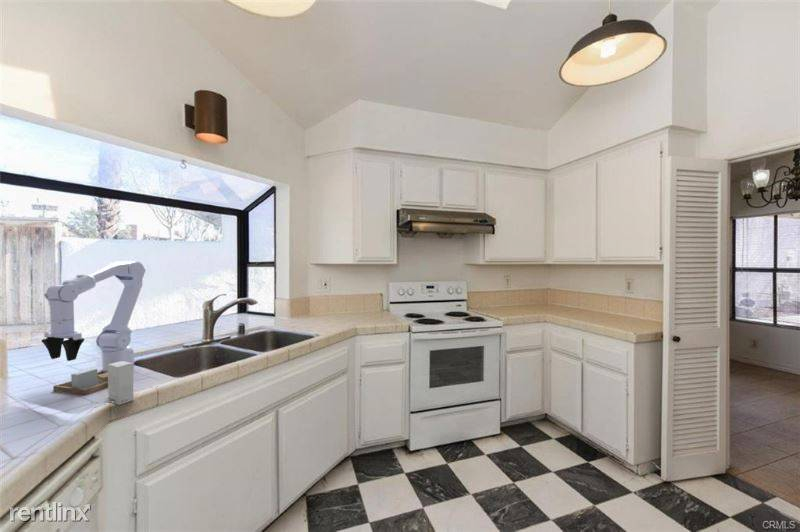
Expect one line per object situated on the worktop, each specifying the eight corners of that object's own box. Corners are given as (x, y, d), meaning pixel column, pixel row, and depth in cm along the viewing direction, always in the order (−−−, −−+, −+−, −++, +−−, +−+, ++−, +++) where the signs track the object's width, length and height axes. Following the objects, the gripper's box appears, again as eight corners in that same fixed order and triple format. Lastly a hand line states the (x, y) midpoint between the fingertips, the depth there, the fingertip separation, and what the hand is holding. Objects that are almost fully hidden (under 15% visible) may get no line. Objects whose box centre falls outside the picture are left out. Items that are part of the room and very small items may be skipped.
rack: (103, 378, 127) (103, 370, 126) (132, 382, 123) (132, 374, 123) (53, 395, 112) (53, 386, 112) (84, 399, 109) (84, 390, 108)
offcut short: (107, 377, 123) (107, 372, 123) (114, 380, 121) (114, 374, 121) (96, 380, 121) (96, 375, 120) (103, 383, 118) (103, 377, 118)
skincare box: (134, 400, 108) (133, 362, 108) (118, 405, 105) (117, 367, 104) (123, 396, 111) (122, 360, 110) (107, 401, 107) (106, 364, 107)
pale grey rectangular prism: (92, 388, 118) (91, 368, 118) (97, 388, 117) (97, 368, 117) (71, 395, 112) (71, 374, 112) (77, 395, 111) (76, 374, 111)
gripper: (32, 320, 114) (33, 360, 114) (63, 323, 110) (64, 364, 111) (58, 316, 121) (59, 354, 121) (88, 319, 117) (89, 358, 118)
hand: (63, 359), depth 116 cm, fingers open, 7 cm apart
